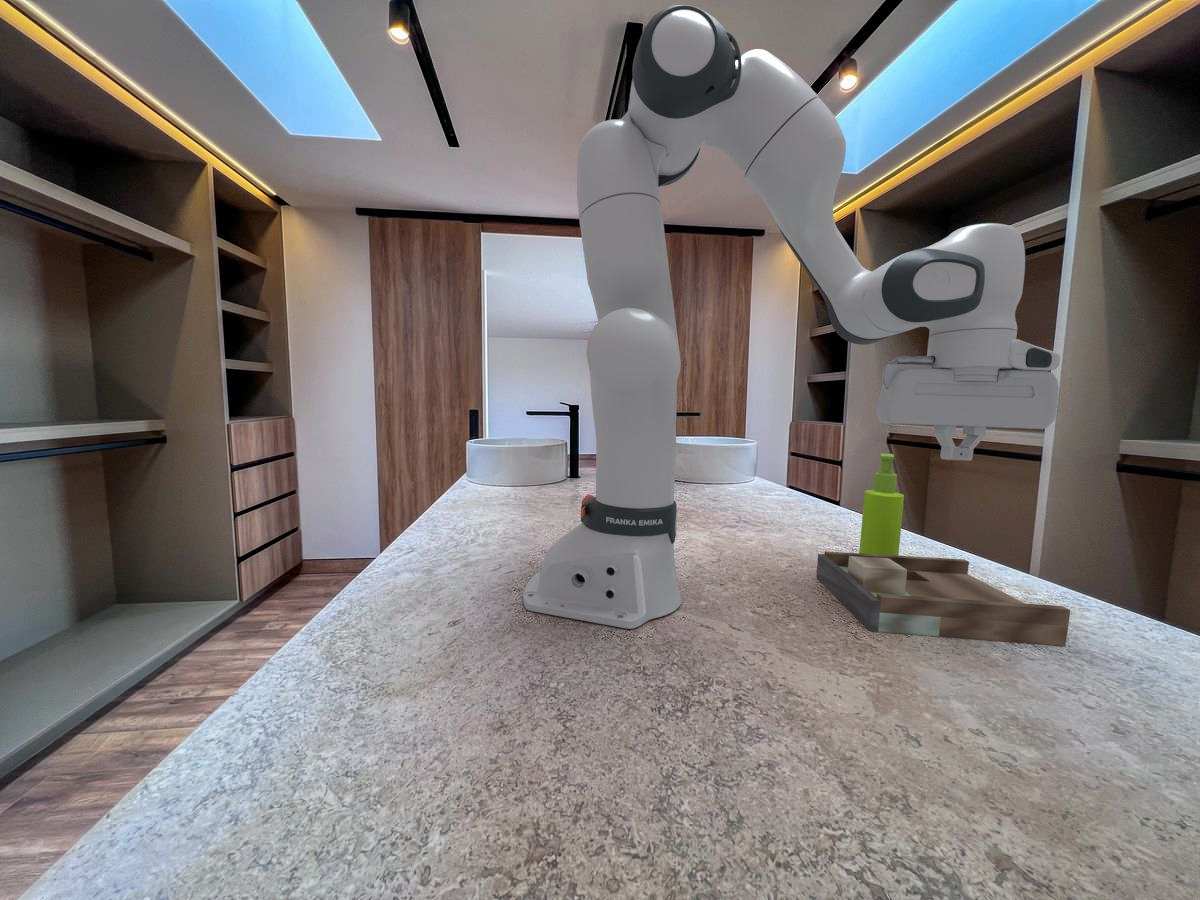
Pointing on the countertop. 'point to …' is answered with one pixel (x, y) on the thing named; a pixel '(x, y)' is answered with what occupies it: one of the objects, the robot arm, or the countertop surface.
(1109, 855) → the countertop surface
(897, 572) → the maple block
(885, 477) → the soap dispenser
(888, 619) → the board
